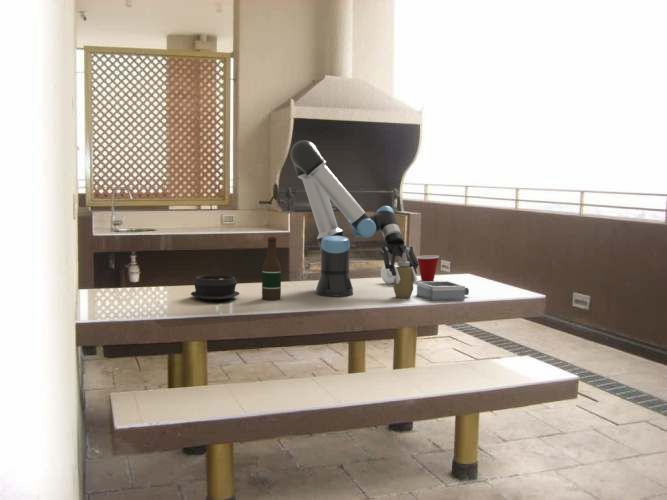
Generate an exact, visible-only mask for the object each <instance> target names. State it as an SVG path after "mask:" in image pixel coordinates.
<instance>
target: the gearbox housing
mask: <svg viewBox="0 0 667 500" xmlns="http://www.w3.org/2000/svg"><path fill="white" fill-rule="evenodd" d="M416 282H417V283H416V296H419V297H421V298H424V299H425V300H426V299H427V300H429V301H432V302H438V301H439V302H441V301H465V296H467V295H469V293H470V290H469V288H468V287H466V285H465V286H464V285H463V284H459V283H456V282H452V281H449V280H444V281H443V280H439V281H437V280H436V281H434V280H433V281H416Z"/></svg>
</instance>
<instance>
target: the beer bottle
mask: <svg viewBox="0 0 667 500" xmlns="http://www.w3.org/2000/svg"><path fill="white" fill-rule="evenodd" d="M277 241H278V239H277V237H275V236H269V237H267V251H266V252H267V255H266V258H265V259H264V261H263V264H262V269H261V273H262V275H261V279H262V280H261V282H262V283H261V299H262V300H263V301H279V300H281V296H282V295H281V294H282V291H281V290H282V282H281V281H282V267H281V266H282V265H281V263H280V261H279V259H278V255H277Z"/></svg>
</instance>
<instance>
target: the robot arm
mask: <svg viewBox="0 0 667 500" xmlns="http://www.w3.org/2000/svg"><path fill="white" fill-rule="evenodd" d="M290 159H291V162H292V163H293V167H294V169H295V173H296V175H297V178H299V179H300V180H301V181H302V183H303V186H304V189H305V194H306V196H307V198H308V202H309V206H310V208H311V212H312V215H313V218H314V222H315V225H316V228H317V231H318V235H317V237H316V239H317V243H318V246H319V249H320V275H319V279H318V282H317V285H316V289H315V293H316V295H318V296H319V295H320V296H325V297H346V296H347V297H348V296H351V295H353V294H354V288H353V285H352V280H351V278H350V250H351V249H350V247H351V244H350V239H349V237H346V236H345V233H344V230H343V229H341V228H340V227H339V226H338V222H337V219H336V216H335V213H334V210H333V207H332V204H331V203H333V205H335V207H336V208H337V209H338V211H339V212H340V213H341V214H342V215H343V216H344V217H345V218H346V220H347V221H348V222H349V223H350V227H351V230H352V235H353V237H354V238H359V237H361V238H365V239H367V238H370V237H371V238H372V237H373V236H374V235H375V234H376V233H379V232H381V234H382V236H383V241H384V243H385V246H382V247H381V249H380V253H381V254H382V258H383V262H384V263H383V264H384V265H385V268H386V269H390V270H389V271H391V273H392V275H393V276H395V280H396V283H397V284H399V282H400V276H399V273H398V270H397V267H394V265H396V264H395V263H396V257H400V259H401V258H402V254H403V253H406V257H407V262H410V266H409V267H411V268H412V276H413V284H417V283H416V282H418V278H417V268H418V267H419V263H418V259H417V256H416V255H415V252H414V248H413V246H409V247H407V246H406V244H405V241H404V238H403V235H402V231H401V229H400V226H399V223H398V220H397V217H396V214H395V212H394V209H393V208H392V207H391V206H389V205H383V206H381V207H380V208H378V209H377V210H376V213H375V214H373V215H368V214H367V213H366V211H365V210H364V209H363V208H362V206H361V205H360V204H359V203H358V202H357V200H356V199H355V198H354V196H353V195H351V193H350V192H349V191H348V190H347V188H346V187H345V186H344V185H343V183H341V181H339V179H338V177H336V176H335V174H334V173H333V172H332V171H331V170H330V168H329V167H328V166H327V160H325V158H324V157H323V156H322V155H321V153H320V151H319V149H318V147H317V145H316V144H315V143H314V142H312V141H309V140H305V139H304V140H299V141H297V142H295V143H294V144H293V146H292V147H291V150H290ZM388 253H389V254H390V258H389V254H388Z"/></svg>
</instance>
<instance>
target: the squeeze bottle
mask: <svg viewBox="0 0 667 500" xmlns="http://www.w3.org/2000/svg"><path fill="white" fill-rule="evenodd" d="M400 259H401V260H400V261H398V262H397V266H399V267H397V270H398V273H399V276H400V282H399V284H397V283H396V280H395V279H394V283H393V287H392V288H393V292H394V295H395V297H396V298H400V299H410V298H411V297H412V293H413V291H414V283H413V276H412V268H411V267H409V266H410V262H407V257H406V253H403V254H402V258H401V257H400Z"/></svg>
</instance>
